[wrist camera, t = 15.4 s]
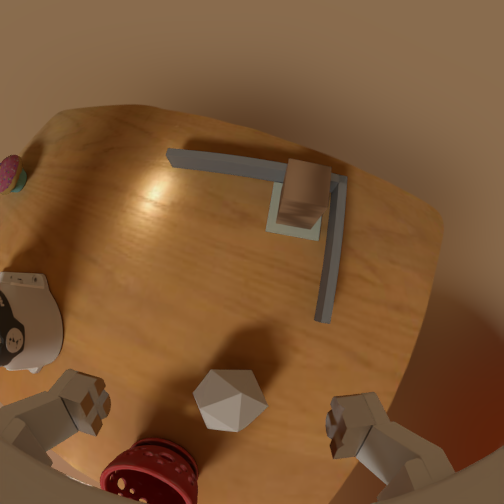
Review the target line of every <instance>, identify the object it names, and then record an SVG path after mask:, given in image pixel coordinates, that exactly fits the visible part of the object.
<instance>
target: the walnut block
mask: <svg viewBox="0 0 504 504" xmlns="http://www.w3.org/2000/svg"><path fill="white" fill-rule="evenodd" d="M331 169H332V167H329V166H325V165H320V164H316V163H311V162H306V161H301V160H296V159H290V158H289V160H288V164H287V168H286V173H285V177H284V181H283V185H282V189H281V194H280V200H279V206H278V212H277V218H276V224H282V225H287V226H293V227H298V228H303V229H309V230H311V228H312V227H313V226H314V224H315V223H316V222H317V221H318V219H319V218H320V217H321V216H322V214H323V213H324V212H325V210H326V209H327V208H328V203H329V193H330V182H331Z"/></svg>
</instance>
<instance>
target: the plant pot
mask: <svg viewBox="0 0 504 504" xmlns="http://www.w3.org/2000/svg"><path fill="white" fill-rule="evenodd" d="M115 471H116V473H115ZM198 474H199V473H198V467H197V464H196V462H195V461H194V459H193V458H192V456H191V455H190V454H189V453H188V452H187V451H186V450H185V449H183V448H182V447H180V446H179V445H177V444H175V443H173V442H171V441H168V440H165V439H161V438H145V439H142V440H139V441H137V442H136V443H134V444H133V445H132V447H131V448H130V449H128V450H126V451H124V452H123V453H121V454H120V455H119V456H117V457H116V458H115V459H114V460H113V461H112V462H111V463H110V464H109V465H108V466H107V467H106V468H105V469H104V471H103V472H102V474H101V477H100V486H101V489H102V490H105V491H108V492H110V493H113V494H116V495H118V493H120V494H121V496H123V497H126V498H130V499H133V500H136V501H139V499H144V500H146V501H147V503H148V504H197V495H198V485H197V480H198ZM110 476H111V479H110ZM120 478H122V479H123V481H124V484H125V488H124V489H123V490H121V489H120V488H119V487H118V484H117V483H118V480H119V479H120ZM130 489H132V490H133V491H134V494H132V493H130Z"/></svg>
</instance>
